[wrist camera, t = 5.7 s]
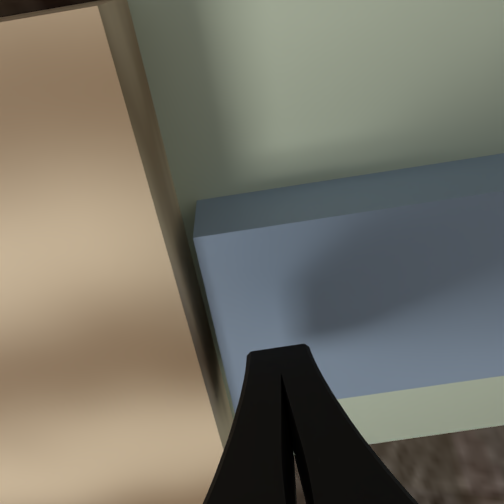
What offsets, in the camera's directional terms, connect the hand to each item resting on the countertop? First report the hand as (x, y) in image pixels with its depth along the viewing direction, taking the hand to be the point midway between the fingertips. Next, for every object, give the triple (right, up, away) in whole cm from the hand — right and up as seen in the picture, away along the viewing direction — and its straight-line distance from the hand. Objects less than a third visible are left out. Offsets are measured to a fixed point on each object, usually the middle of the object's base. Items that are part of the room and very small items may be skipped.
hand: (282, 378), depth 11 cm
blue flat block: (+3, +2, +3) cm, 5 cm away
